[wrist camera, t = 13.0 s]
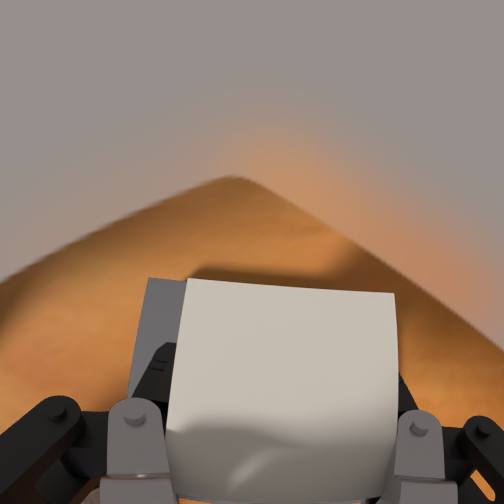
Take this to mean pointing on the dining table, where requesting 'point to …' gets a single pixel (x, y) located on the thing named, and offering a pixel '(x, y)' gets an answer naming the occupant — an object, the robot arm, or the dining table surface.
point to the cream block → (283, 394)
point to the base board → (164, 338)
